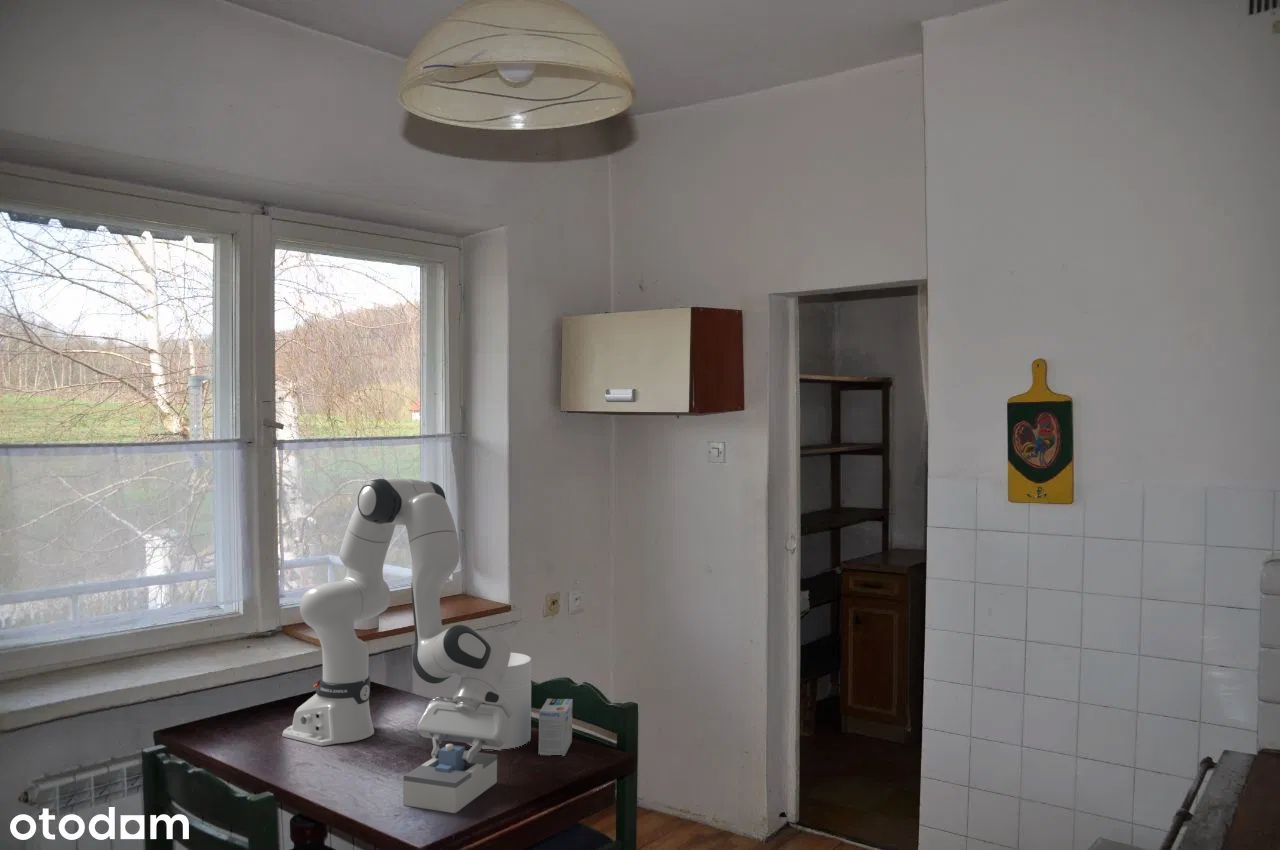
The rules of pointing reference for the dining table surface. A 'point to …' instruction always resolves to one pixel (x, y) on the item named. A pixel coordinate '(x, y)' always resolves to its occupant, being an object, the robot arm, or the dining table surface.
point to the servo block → (451, 758)
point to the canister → (517, 700)
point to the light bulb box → (555, 727)
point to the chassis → (449, 784)
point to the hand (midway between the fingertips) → (450, 759)
